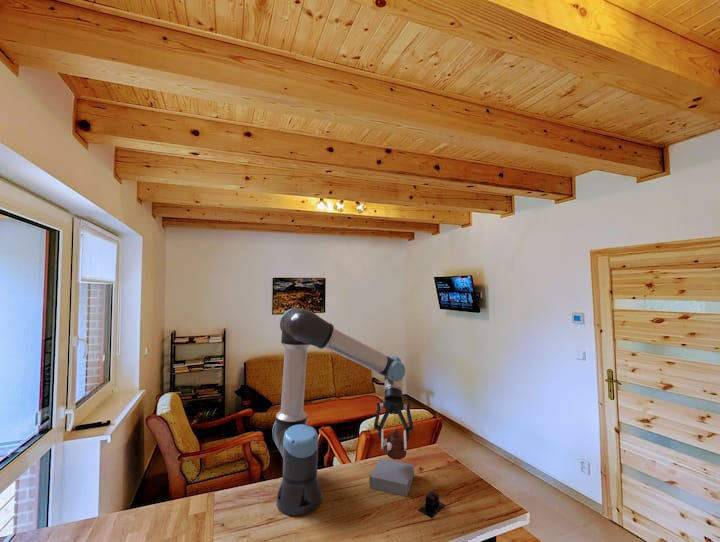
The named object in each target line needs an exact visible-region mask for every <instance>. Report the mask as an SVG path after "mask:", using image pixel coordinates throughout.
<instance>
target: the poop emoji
mask: <svg viewBox="0 0 720 542" xmlns="http://www.w3.org/2000/svg"><path fill="white" fill-rule="evenodd" d="M383 451H384V453H385V454H386V456H387V457H388V458H390V459H391V460H396V461H397V460H402V459H405V457H406V456H407V450H406V451H404V439H403V438H402V436H401V434H400V433H399V432H398V430H397V429H394V430H392V431H391V433H390V434H389V436H388V437H387V438H383Z"/></svg>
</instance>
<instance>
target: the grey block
mask: <svg viewBox="0 0 720 542" xmlns="http://www.w3.org/2000/svg"><path fill="white" fill-rule="evenodd" d="M414 478H415V464H411V463H405V462H400V461H397V460H396V461H395V460H392V459H391V460H390V459H386V458H382V457H381V458H380V457H379V459H378V461H377V463H376V464H375V466H374V467H373V469H372V472H371V473H370V475H369V479H368V480H369V481H368V483H369V486H368V487H369V489H373V490H378V491H382V492H386V493H391V494H394V495H399V496H403V497H408V495H409V492H410V488H411V486H412V483H413V480H414Z"/></svg>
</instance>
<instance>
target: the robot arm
mask: <svg viewBox="0 0 720 542" xmlns="http://www.w3.org/2000/svg"><path fill="white" fill-rule="evenodd" d="M279 328H280V330H281V337H280V338H281V340H280V342H281V345H282V346H283V347H284V355H283V357H284V358H283V370H282V371H283V372H282V384H281V385H282V386H281V387H282V388H281V398H280V399H281V402H280V410H279V411H278V412H277V413H276V414H275V421H274V424H273V426H272V431H271V432H272V440H273V442H274V444H275V445H276V447H277V449H278V451H279V453H280V454H281V457H282V480H281V483H280V484H279V487H278V491H277V494H276V507H277V509H278V510H279V512H281V513H282V514H285V515H288V516H295V517H297V516H305V515H307V514H309V513H312V512H314V511H315V510H317V509H318V507H320V505H321V503H322V497H323V496H322V494H323V493H322V489H321V485H320V482H319V478H318V457H319V455H318V453H319V438H318V437H319V436H318V432H317V430H316V428H314V427H313V426H311V425H307V422H308V419H307V418H308V414H307V412H306V411H305V410H304V408H305V407H304V403H305V392H306V391H305V387H306V374H307V359H308V348H309V347H310V346H313V347H317V348H318V349H320V350H323V349H327V350H329V351H331V352H333V353H336V354H337V355H340V356H341V357H344V358H346V359H347V360H350V361H352V362H354V363H356V364H358V365H360V366H362V367H364V368H366V369H369V370H370V371H372V372H375V373H377V374H379V375H380V376H382V377H384V393H383V395H384V396H383V397H384V398H383V399H384V400H383V402H382V403H381V402H377V403H376V409H377V410H376V413H375V419H374V423H373V428H374V430H377V431H378V432H377V433H378V436H377V437H378V440H380V442H381V443H380V450H381V451H382V450H383V451H384V445H383V440H384V427H385V424H386V421H387V419H388V417H389V415H397V416H398V418H399V420H400V422H401V424H402V427H403V442H404V451H406V452H407V442H409V440H410V432H413V431H414V422H413V418H412V415H411V404H410V403H404V401H403V378H404V377H405V375H406V366H405V365H404V363H402V360H401V358H400V357H398V356H397V355H396V356H394V355H390V356H388V355H386V354H384V353H382V352H380V351H378V350H376V349H375V348H373V347H370V346H368V345H367V344H365V343H363V342H361V341H359V340H357V339H355V338H353V337H351V336H350V335H347V334H345V333H344V332H342V331H339V330H338V329H336V328H335V326H334V324H332V323H330V322H328V321H327V320H325V319H324V318H322V317H320V316H319V315H317V314H316V313H315V312H313V311H311V310H308V309H304V308H300V307H293V308H290V309H287V310H286V311H285V312H283V314H282V315H281V317H280V320H279ZM383 408H384V409H385V412H384V414H383V417H382V419H381V421H380V422H379V420H380V415H381V410H382V409H383ZM403 408H404V410H405V411H406V417H407V421H408V422H407V421H406V419H405V417H404V415H403V411H402V410H403Z"/></svg>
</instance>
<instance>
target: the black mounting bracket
mask: <svg viewBox="0 0 720 542" xmlns="http://www.w3.org/2000/svg"><path fill="white" fill-rule="evenodd" d="M424 502H425V504H423V505H422V506H420V507H419V508H418V509H417V511H418V512H420V513H421V514H423V515H424V516H427V517H428V518H430V519H433V518H434V517H436V516H437V515H438V513H440V512H441V511H442V510H443V509H444V508H445V507H446V506H447V505H446V504H445V503H444V502H442V501H440V494H438V493H436V492H434V491H430V492H429V493H427V494H426V495H425V500H424Z"/></svg>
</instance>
